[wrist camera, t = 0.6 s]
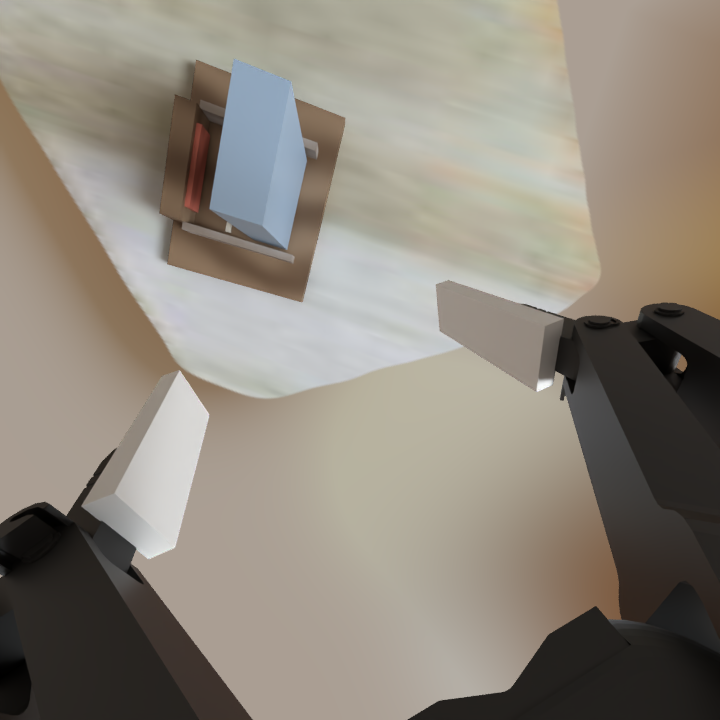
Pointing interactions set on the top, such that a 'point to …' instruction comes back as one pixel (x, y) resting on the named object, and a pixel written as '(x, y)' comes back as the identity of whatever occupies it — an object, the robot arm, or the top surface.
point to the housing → (195, 184)
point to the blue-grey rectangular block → (259, 157)
